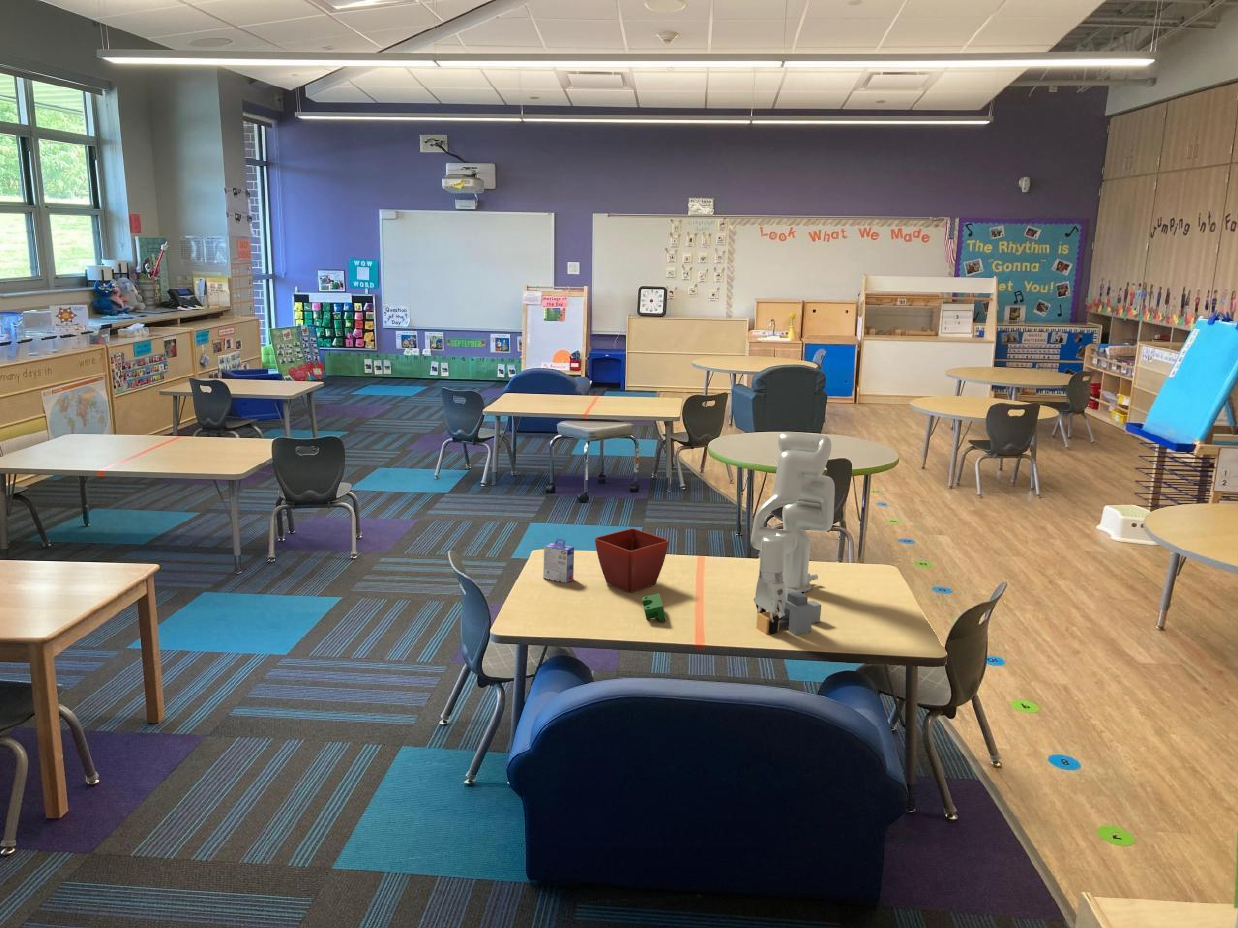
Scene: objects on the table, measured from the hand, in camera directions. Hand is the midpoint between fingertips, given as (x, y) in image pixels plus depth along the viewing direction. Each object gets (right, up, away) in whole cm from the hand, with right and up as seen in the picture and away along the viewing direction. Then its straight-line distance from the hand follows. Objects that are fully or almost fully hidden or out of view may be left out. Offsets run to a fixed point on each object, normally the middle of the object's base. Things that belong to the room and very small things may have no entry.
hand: (767, 628), depth 294 cm
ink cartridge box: (-69, +11, +39) cm, 80 cm away
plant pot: (-43, +9, +36) cm, 57 cm away
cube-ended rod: (+8, 0, +4) cm, 9 cm away
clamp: (-36, +2, +8) cm, 37 cm away
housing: (+8, 0, +4) cm, 9 cm away
